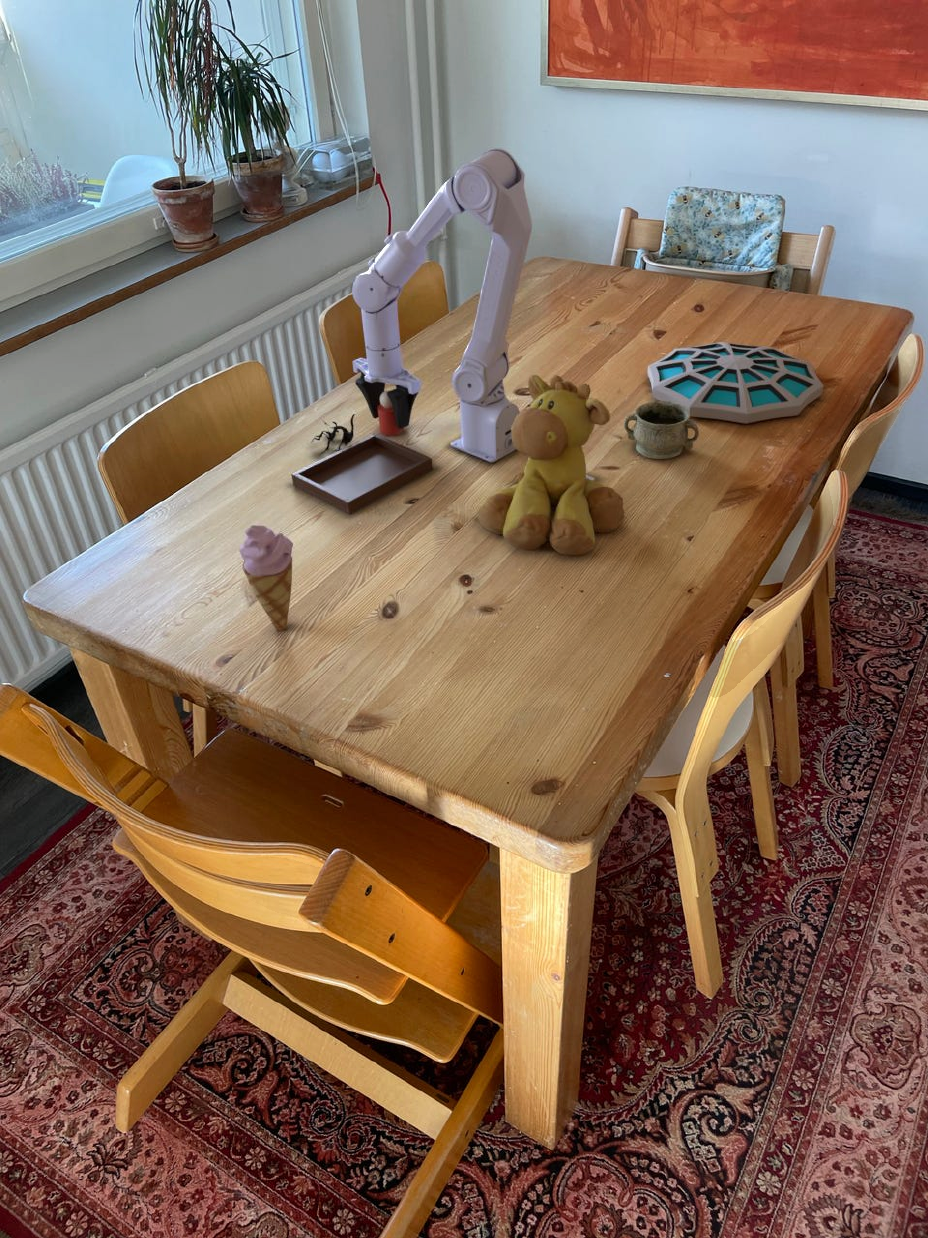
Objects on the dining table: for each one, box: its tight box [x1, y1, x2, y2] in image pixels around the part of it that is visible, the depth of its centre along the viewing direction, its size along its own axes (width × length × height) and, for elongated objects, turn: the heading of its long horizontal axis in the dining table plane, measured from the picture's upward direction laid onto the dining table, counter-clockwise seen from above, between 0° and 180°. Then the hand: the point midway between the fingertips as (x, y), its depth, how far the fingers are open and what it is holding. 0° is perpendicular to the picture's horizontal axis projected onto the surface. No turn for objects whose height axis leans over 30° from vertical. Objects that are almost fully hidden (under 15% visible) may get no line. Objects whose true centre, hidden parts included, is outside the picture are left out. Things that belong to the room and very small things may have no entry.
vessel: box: [623, 400, 700, 460], centre depth 150 cm, size 12×9×6 cm
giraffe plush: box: [477, 374, 626, 556], centre depth 132 cm, size 20×24×19 cm
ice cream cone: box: [238, 525, 294, 632], centre depth 115 cm, size 7×6×15 cm
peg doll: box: [378, 389, 404, 437], centre depth 159 cm, size 4×4×7 cm
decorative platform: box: [646, 341, 824, 425], centre depth 167 cm, size 31×29×5 cm
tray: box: [290, 433, 434, 515], centre depth 148 cm, size 14×18×2 cm
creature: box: [310, 413, 356, 457], centre depth 156 cm, size 8×5×8 cm
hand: (390, 421), depth 160 cm, fingers open, 6 cm apart
